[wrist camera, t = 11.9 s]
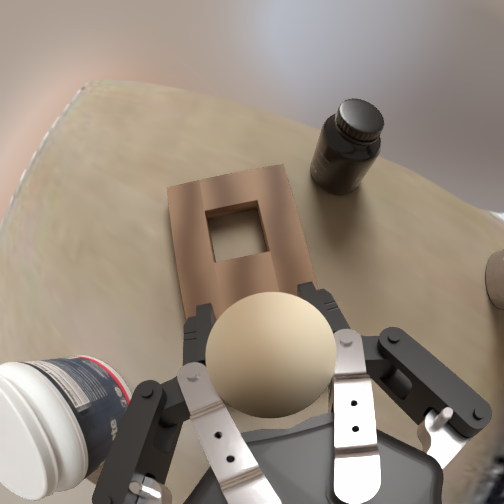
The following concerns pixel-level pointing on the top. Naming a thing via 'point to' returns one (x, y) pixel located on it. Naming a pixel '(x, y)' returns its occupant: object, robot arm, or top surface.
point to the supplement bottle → (347, 146)
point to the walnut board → (244, 268)
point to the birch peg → (271, 355)
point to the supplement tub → (57, 422)
